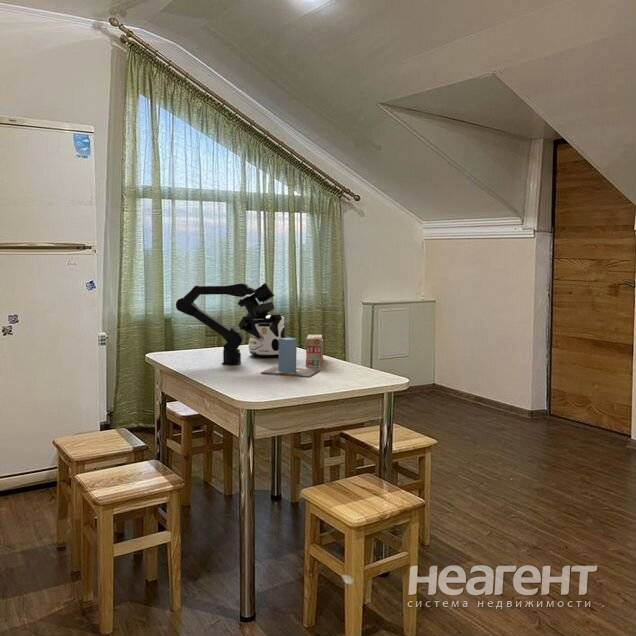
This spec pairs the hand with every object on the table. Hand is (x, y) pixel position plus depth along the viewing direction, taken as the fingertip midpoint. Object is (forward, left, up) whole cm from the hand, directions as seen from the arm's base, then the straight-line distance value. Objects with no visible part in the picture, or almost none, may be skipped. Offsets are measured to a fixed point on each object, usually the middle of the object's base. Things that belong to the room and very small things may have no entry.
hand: (269, 337), depth 265 cm
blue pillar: (+10, -5, -12) cm, 17 cm away
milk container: (-13, +31, -13) cm, 36 cm away
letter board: (+11, -4, -13) cm, 18 cm away
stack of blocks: (+13, +21, -13) cm, 28 cm away
